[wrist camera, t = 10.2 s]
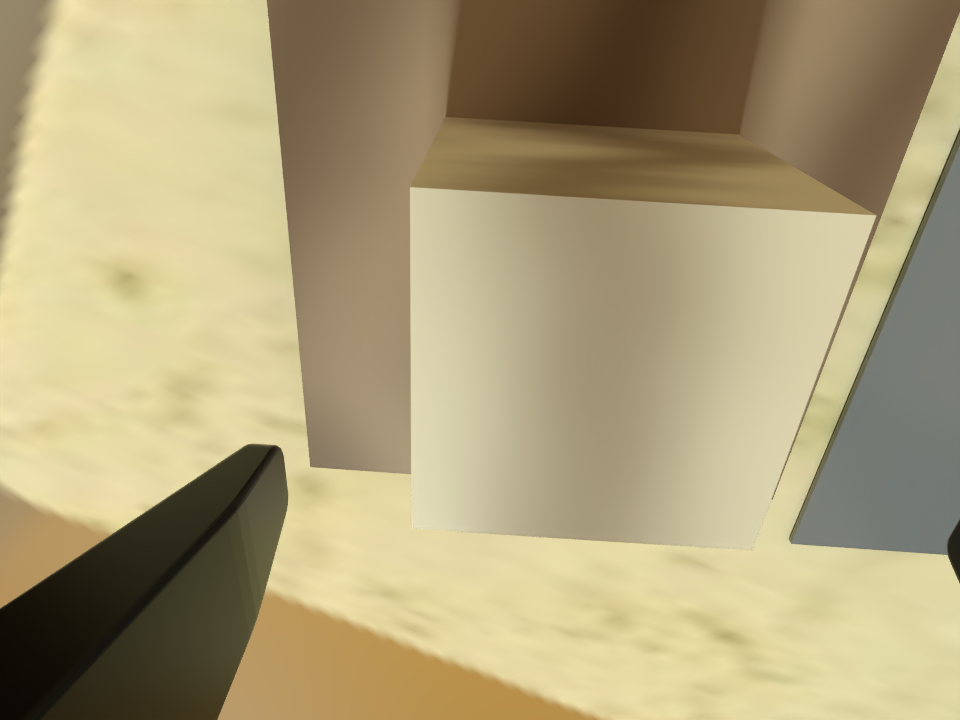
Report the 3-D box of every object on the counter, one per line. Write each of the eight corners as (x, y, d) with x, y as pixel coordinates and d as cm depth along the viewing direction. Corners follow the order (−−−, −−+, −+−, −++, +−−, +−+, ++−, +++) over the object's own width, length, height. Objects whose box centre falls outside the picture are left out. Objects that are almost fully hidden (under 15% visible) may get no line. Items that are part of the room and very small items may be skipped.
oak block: (738, 134, 14) (876, 216, 9) (678, 383, 17) (752, 550, 12) (445, 116, 14) (409, 187, 9) (440, 368, 17) (411, 528, 12)
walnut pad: (937, -46, 13) (983, -51, 12) (755, 467, 20) (772, 499, 19) (281, -92, 14) (257, -102, 12) (323, 437, 20) (310, 467, 19)
